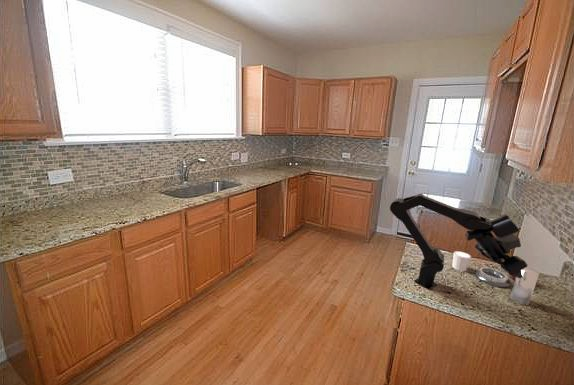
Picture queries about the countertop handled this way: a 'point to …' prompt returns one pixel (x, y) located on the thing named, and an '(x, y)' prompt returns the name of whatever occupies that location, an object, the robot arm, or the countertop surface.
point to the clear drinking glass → (524, 286)
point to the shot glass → (461, 260)
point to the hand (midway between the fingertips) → (510, 270)
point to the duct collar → (492, 277)
